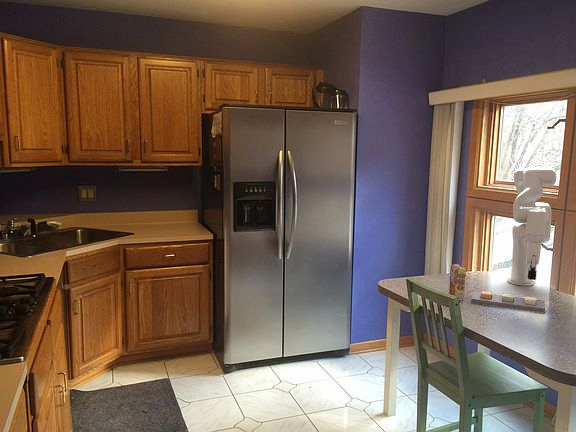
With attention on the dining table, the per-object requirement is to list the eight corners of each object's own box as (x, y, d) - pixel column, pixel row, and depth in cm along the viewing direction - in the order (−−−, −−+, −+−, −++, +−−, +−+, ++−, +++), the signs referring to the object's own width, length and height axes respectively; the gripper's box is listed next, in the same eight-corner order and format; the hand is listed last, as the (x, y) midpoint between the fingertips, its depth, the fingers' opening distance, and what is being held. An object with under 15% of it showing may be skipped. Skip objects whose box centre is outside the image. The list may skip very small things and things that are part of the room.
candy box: (464, 300, 221) (466, 268, 219) (455, 300, 221) (457, 268, 219) (457, 294, 230) (458, 264, 228) (448, 295, 230) (450, 264, 228)
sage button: (502, 298, 220) (502, 293, 219) (513, 299, 218) (513, 294, 218) (502, 300, 216) (502, 296, 216) (512, 302, 214) (513, 297, 214)
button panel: (473, 295, 229) (473, 291, 229) (544, 304, 216) (544, 300, 216) (470, 302, 218) (471, 298, 218) (545, 313, 205) (545, 308, 205)
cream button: (524, 300, 216) (524, 296, 216) (535, 302, 214) (535, 297, 214) (524, 303, 212) (524, 298, 212) (535, 305, 210) (535, 300, 210)
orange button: (481, 295, 224) (481, 290, 223) (491, 296, 222) (492, 292, 221) (480, 297, 220) (481, 293, 220) (491, 299, 218) (491, 294, 218)
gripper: (525, 234, 217) (522, 273, 220) (525, 240, 203) (522, 282, 206) (544, 235, 214) (540, 275, 217) (545, 241, 200) (541, 284, 203)
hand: (531, 278), depth 211 cm, fingers closed
